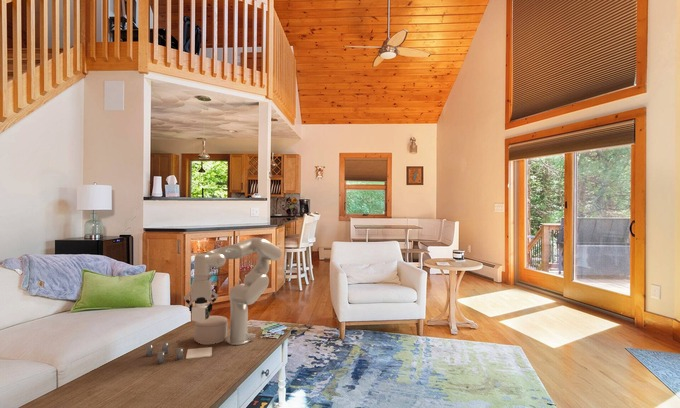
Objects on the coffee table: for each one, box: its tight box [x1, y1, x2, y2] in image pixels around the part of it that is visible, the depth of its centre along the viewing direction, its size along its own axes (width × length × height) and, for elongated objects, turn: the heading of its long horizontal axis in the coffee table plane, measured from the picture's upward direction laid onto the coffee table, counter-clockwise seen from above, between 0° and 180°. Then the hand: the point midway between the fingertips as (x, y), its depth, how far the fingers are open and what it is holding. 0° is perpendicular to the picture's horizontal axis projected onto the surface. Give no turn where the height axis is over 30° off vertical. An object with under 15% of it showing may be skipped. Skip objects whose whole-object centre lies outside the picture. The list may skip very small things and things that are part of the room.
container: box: [193, 315, 229, 345], centre depth 208 cm, size 18×18×12 cm
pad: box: [185, 346, 213, 360], centre depth 187 cm, size 12×12×1 cm
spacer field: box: [145, 341, 184, 365], centre depth 181 cm, size 18×16×5 cm
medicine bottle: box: [191, 297, 211, 322], centre depth 188 cm, size 7×7×12 cm
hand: (200, 311), depth 188 cm, fingers closed on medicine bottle, 8 cm apart
